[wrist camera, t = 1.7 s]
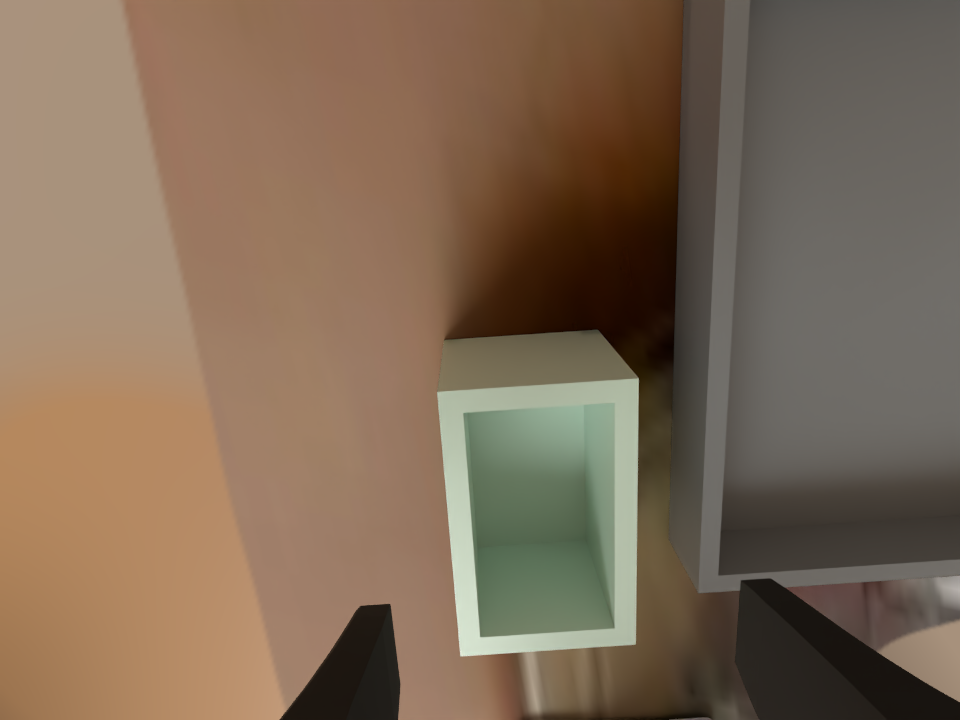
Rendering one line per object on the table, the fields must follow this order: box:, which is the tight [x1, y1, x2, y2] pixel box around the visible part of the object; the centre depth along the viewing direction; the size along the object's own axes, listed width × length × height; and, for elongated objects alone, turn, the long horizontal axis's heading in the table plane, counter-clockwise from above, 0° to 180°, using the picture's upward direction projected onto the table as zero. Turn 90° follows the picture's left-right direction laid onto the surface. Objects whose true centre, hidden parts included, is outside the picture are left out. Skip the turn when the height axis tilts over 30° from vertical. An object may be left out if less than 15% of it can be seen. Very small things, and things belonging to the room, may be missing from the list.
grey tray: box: [669, 0, 960, 593], centre depth 18 cm, size 18×14×3 cm
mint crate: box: [437, 330, 639, 656], centre depth 19 cm, size 8×5×5 cm, turn 4°
